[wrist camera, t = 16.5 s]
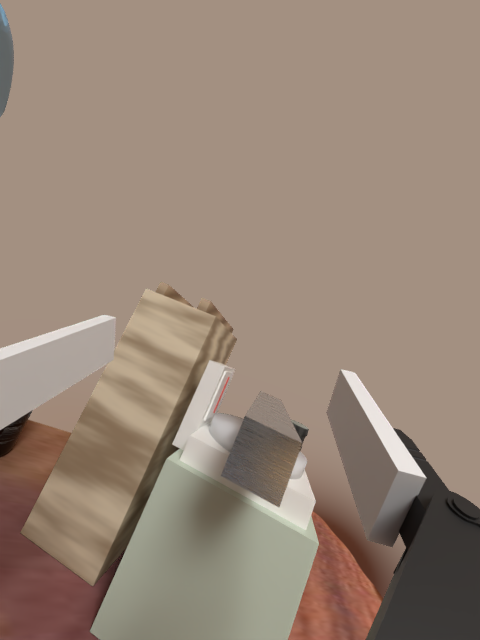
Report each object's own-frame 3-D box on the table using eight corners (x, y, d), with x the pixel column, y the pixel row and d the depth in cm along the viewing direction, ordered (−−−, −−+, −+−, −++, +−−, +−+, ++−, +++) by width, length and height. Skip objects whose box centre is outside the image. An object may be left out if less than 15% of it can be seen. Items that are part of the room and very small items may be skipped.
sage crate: (249, 757, 18) (319, 543, 21) (89, 631, 21) (166, 458, 24) (259, 589, 33) (300, 475, 35) (163, 529, 36) (206, 428, 38)
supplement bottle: (9, 436, 41) (46, 368, 43) (13, 460, 36) (55, 383, 38) (-50, 434, 36) (-5, 358, 38) (-54, 462, 31) (-2, 373, 33)
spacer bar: (279, 507, 15) (302, 443, 16) (220, 475, 16) (244, 415, 17) (272, 421, 44) (281, 400, 45) (252, 411, 45) (260, 390, 46)
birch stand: (92, 586, 25) (220, 305, 30) (20, 532, 27) (151, 278, 32) (167, 500, 42) (240, 332, 47) (119, 472, 44) (194, 313, 49)
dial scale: (305, 530, 22) (342, 420, 23) (162, 450, 25) (203, 358, 27) (293, 474, 34) (318, 405, 36) (199, 426, 37) (226, 364, 39)
